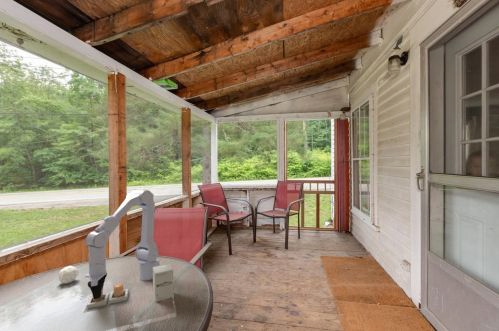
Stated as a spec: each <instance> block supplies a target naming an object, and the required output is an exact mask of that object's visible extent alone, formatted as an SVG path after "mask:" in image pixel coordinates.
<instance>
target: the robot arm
mask: <svg viewBox="0 0 499 331" xmlns="http://www.w3.org/2000/svg"><path fill="white" fill-rule="evenodd" d="M125 197H126V198H125V199H124V200H123V201H122V203H121V204H120V205H119V207H118V208H117V209H116V211H115V212H114V213H113V214H112V215H109V216H107V217H104V218H103V220H102V222H101V223H100V224H99V225H98V226H97V227H95V229H94V230H93V231H91V232H89V233H88V234H87V236H86V237H85V239H84V243H85V244H84V245H86V246H87V250H88V273H86V274H85V275H84V276H85V278H88V279H89V280H90V281H88V282H87V286H88V288H89V290H90V291H91V294H92V296H93V298H94V299H99V298H100V297H101V293H102V286H103V287H104V285H105V281H106V279H107V278H106V277H107V276H108V272H107V260H106V254H107V253H106V245H107V244H108V243H109V240H110V237H111V235H112V234H113V232H114V231H115V230H116V229H117V228H118V227H119V226H120V225H121V224H120V220H121V219H122V218H123V217H124V216H125V215H126V214H127V213H128V212H129V211H130V210H131V208H133V207H136V206H139V208H140V209H142V211H141V212H142V215H141V233H140V242H139V243H138V244H137V246H136V247H137V248H136V250H135V253H134V256H135V258H136V259H137V261H138V262H137V263H138V277H139V280H140V281H143V282H145V281H150V280H153V267H156V266H160V259H159V258H158V256H159V250H158V245H157V243H156V242H155V241H154V231H155V230H154V228H155V207H156V204H155V201H154V193H153V192H151V191H150V190H148V189H146V190H145V189H143V190H142V189H132V190H130V192H129V193H128V194H127V195H126V196H125Z"/></svg>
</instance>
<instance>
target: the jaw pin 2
mask: <svg viewBox="0 0 499 331" xmlns="http://www.w3.org/2000/svg"><path fill="white" fill-rule="evenodd" d="M123 290H124V284H123V283H117V284H115V285H114V286H113V292H114V298H117V297H121V296H124V295H123Z"/></svg>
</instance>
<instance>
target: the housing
mask: <svg viewBox="0 0 499 331" xmlns="http://www.w3.org/2000/svg"><path fill="white" fill-rule="evenodd" d="M130 294H131V289H128V288H126V289H123V295H124V296H121V297H117V298H114V291H110V293H109V292H106V293H103V299H102V300H101V301H98V302H93V295H91V296H90V297H89V299H88V301H87V304H86V305H85V308H84V311H83V313H88V312H92V311H97V310H101V309H106V308H111V307H115V306H119V305H124V304H128V303H129V302H130Z"/></svg>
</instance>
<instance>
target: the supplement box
mask: <svg viewBox="0 0 499 331" xmlns="http://www.w3.org/2000/svg"><path fill="white" fill-rule="evenodd" d="M152 296H153V299H154V302H155V303H157V302H158V303H159V302H161V301H164V300H168V299H172V301H174V300H175V299H174V297H175V296H174V269H173V267H172V263H167V264H163V265H159V266H156V267H153V279H152Z"/></svg>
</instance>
